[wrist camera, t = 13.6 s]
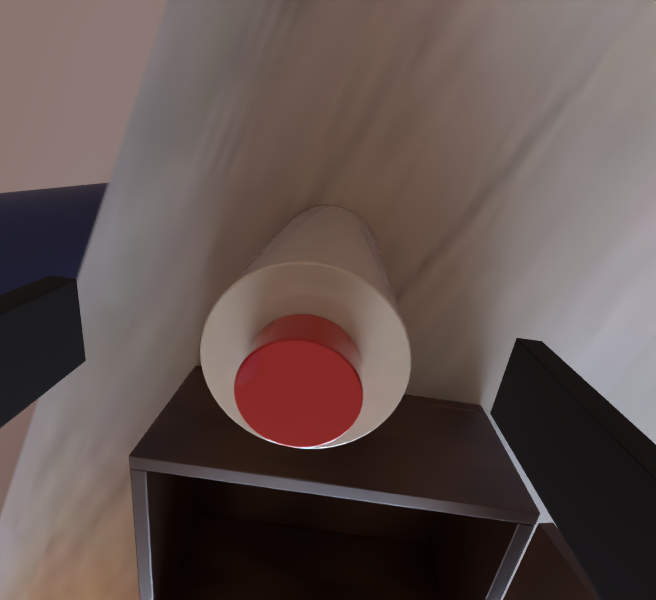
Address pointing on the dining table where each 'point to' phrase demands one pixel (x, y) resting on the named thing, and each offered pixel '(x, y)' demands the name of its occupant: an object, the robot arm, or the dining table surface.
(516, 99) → the dining table surface
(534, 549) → the lid
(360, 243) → the bottle
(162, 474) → the open box
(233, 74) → the dining table surface
